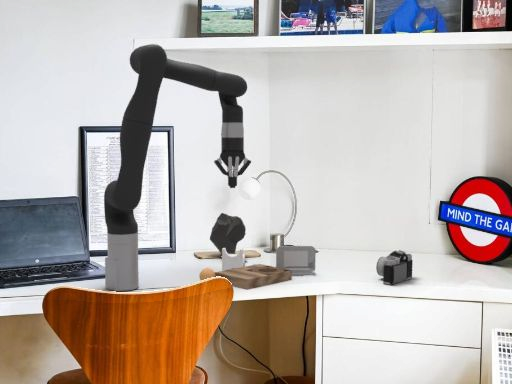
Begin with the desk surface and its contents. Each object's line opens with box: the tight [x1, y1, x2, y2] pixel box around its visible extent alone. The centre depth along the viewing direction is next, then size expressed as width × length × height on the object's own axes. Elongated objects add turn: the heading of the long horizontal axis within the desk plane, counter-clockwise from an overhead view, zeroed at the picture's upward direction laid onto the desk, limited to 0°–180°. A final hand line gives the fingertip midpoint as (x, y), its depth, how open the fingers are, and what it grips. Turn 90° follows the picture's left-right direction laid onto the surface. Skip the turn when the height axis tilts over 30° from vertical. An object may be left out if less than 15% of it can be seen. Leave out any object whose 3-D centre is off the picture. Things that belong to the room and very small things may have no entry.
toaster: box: [275, 245, 317, 277], centre depth 228 cm, size 13×9×10 cm
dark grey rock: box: [209, 212, 248, 264], centre depth 252 cm, size 14×15×18 cm
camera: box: [376, 249, 413, 285], centre depth 218 cm, size 16×9×10 cm, turn 138°
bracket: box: [221, 247, 246, 271], centre depth 239 cm, size 13×7×8 cm, turn 177°
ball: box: [198, 267, 215, 281], centre depth 211 cm, size 5×5×5 cm
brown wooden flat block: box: [214, 263, 293, 290], centre depth 216 cm, size 20×15×3 cm
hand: (232, 187), depth 226 cm, fingers closed
